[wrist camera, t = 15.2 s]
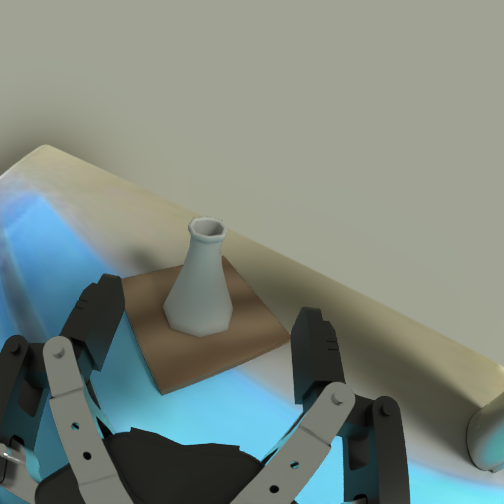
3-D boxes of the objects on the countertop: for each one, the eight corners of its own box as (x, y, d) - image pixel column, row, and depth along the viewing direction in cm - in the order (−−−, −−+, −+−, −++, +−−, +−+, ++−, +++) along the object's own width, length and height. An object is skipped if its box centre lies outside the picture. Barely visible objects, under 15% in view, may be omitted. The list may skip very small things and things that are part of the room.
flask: (164, 283, 29) (166, 201, 24) (228, 286, 31) (245, 208, 26) (161, 337, 24) (158, 251, 18) (237, 339, 26) (261, 257, 20)
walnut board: (288, 341, 28) (291, 336, 27) (161, 395, 20) (160, 390, 20) (222, 261, 36) (223, 255, 36) (117, 286, 29) (116, 280, 28)
